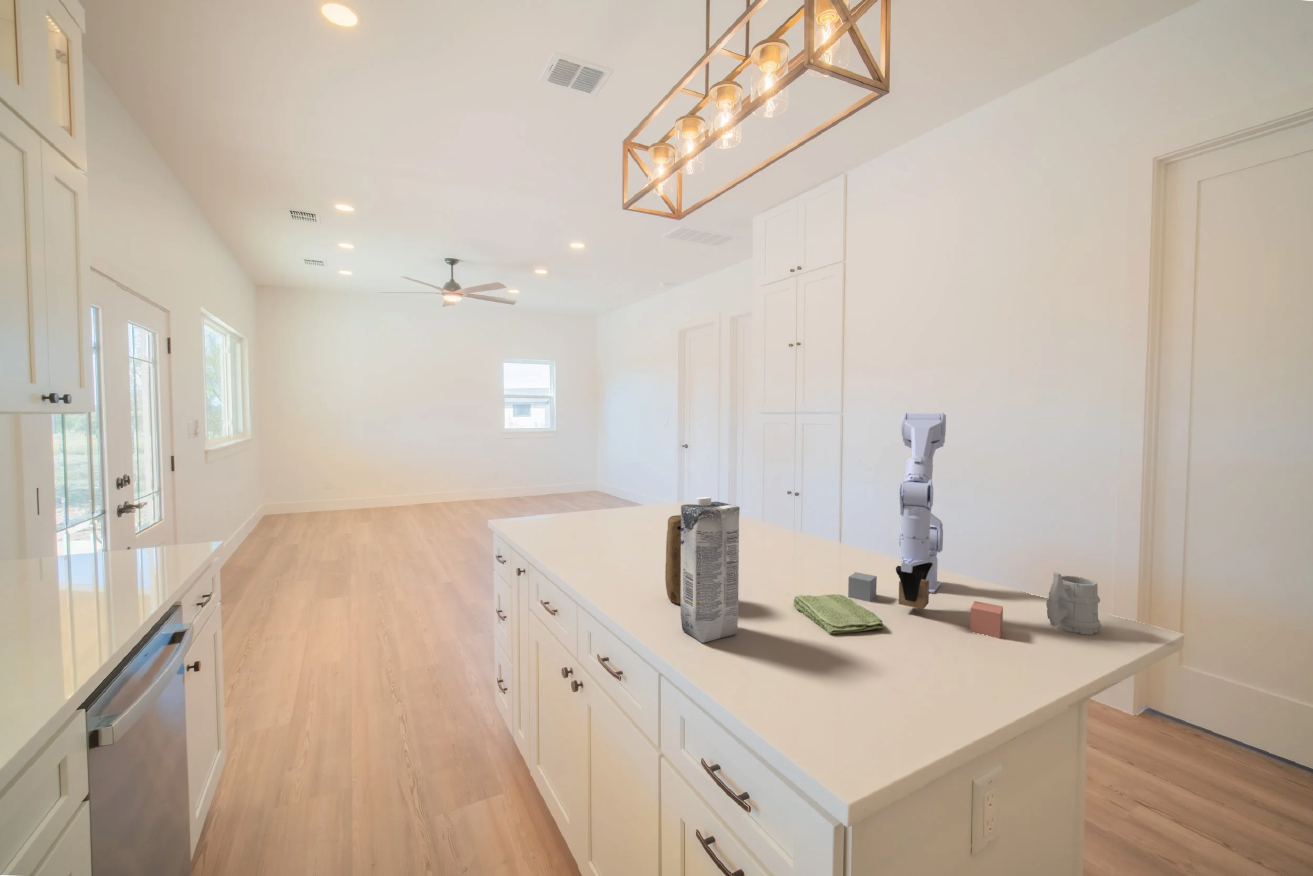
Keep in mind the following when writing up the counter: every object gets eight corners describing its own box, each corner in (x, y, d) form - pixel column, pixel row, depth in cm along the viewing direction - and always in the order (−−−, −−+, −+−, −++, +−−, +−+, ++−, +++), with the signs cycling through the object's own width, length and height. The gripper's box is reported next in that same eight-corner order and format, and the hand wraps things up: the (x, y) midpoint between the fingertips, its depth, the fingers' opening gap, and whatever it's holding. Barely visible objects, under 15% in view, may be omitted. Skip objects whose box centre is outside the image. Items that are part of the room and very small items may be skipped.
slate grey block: (855, 592, 130) (855, 572, 130) (876, 596, 127) (876, 576, 127) (848, 597, 126) (848, 577, 126) (869, 602, 123) (870, 581, 123)
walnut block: (904, 597, 120) (904, 576, 120) (928, 602, 117) (929, 580, 117) (898, 604, 116) (899, 581, 116) (923, 609, 113) (923, 586, 113)
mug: (1109, 632, 106) (1111, 573, 105) (1068, 640, 102) (1070, 579, 102) (1069, 618, 113) (1071, 563, 112) (1029, 625, 109) (1031, 568, 109)
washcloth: (830, 639, 103) (830, 623, 103) (789, 607, 120) (789, 593, 120) (889, 633, 106) (889, 618, 106) (841, 603, 123) (841, 589, 123)
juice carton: (744, 635, 104) (745, 499, 103) (701, 647, 98) (701, 504, 97) (716, 620, 112) (717, 493, 110) (675, 630, 106) (675, 497, 105)
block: (669, 606, 119) (669, 519, 118) (663, 595, 127) (664, 513, 126) (715, 604, 121) (716, 518, 120) (707, 593, 128) (708, 512, 128)
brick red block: (973, 624, 110) (974, 601, 110) (1002, 630, 107) (1002, 606, 106) (970, 632, 106) (970, 607, 106) (999, 639, 103) (1000, 613, 103)
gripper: (927, 545, 108) (926, 610, 108) (942, 532, 119) (940, 592, 120) (891, 540, 112) (890, 603, 113) (908, 528, 123) (907, 585, 124)
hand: (913, 597), depth 116 cm, fingers closed on walnut block, 5 cm apart
